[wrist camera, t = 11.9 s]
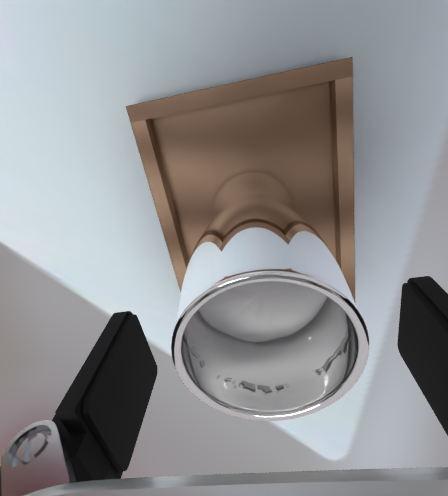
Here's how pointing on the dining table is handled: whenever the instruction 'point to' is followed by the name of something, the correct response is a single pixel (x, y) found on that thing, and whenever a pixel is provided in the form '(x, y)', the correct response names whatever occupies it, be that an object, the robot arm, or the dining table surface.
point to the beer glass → (266, 310)
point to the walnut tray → (254, 153)
